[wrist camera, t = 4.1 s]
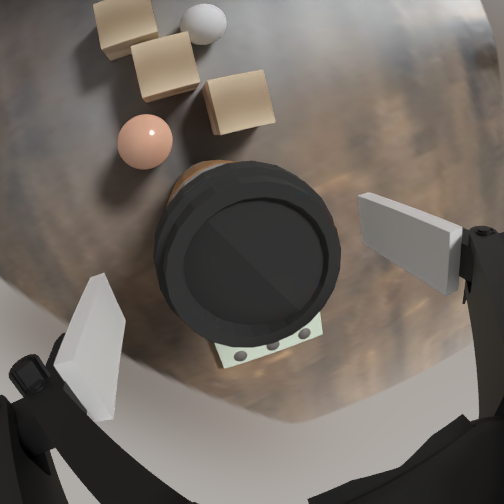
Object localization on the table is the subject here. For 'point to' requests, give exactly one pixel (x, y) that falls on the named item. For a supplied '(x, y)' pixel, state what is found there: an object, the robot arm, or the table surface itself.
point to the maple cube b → (165, 66)
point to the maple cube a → (124, 25)
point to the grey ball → (203, 23)
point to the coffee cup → (245, 252)
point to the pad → (241, 355)
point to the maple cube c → (238, 102)
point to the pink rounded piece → (144, 141)
